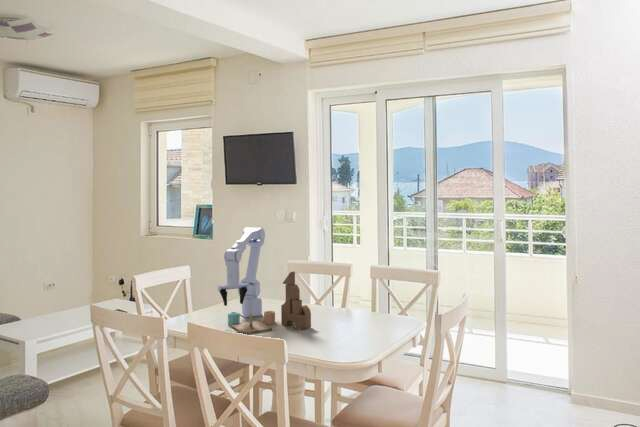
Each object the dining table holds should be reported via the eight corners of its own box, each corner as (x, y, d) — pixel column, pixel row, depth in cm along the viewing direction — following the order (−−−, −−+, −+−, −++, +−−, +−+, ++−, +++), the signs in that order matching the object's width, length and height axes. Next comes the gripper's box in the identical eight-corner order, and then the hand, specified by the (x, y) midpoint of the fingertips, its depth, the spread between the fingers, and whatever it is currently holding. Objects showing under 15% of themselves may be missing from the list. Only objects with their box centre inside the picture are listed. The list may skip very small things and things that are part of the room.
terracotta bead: (270, 320, 234) (269, 310, 234) (277, 322, 231) (277, 312, 231) (262, 323, 231) (261, 312, 230) (269, 324, 227) (269, 313, 227)
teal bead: (237, 321, 233) (237, 311, 233) (240, 324, 229) (240, 313, 229) (227, 323, 231) (226, 312, 231) (230, 325, 226) (230, 314, 226)
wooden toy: (312, 327, 221) (311, 272, 221) (300, 330, 217) (299, 273, 216) (290, 321, 233) (289, 268, 232) (279, 324, 228) (278, 270, 228)
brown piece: (259, 322, 232) (259, 308, 231) (272, 330, 217) (272, 315, 217) (230, 326, 225) (230, 312, 225) (242, 334, 211) (241, 319, 211)
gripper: (220, 277, 222) (220, 307, 223) (250, 275, 229) (251, 304, 229) (215, 275, 228) (216, 304, 229) (245, 273, 235) (246, 301, 236)
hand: (233, 304), depth 230 cm, fingers open, 7 cm apart
